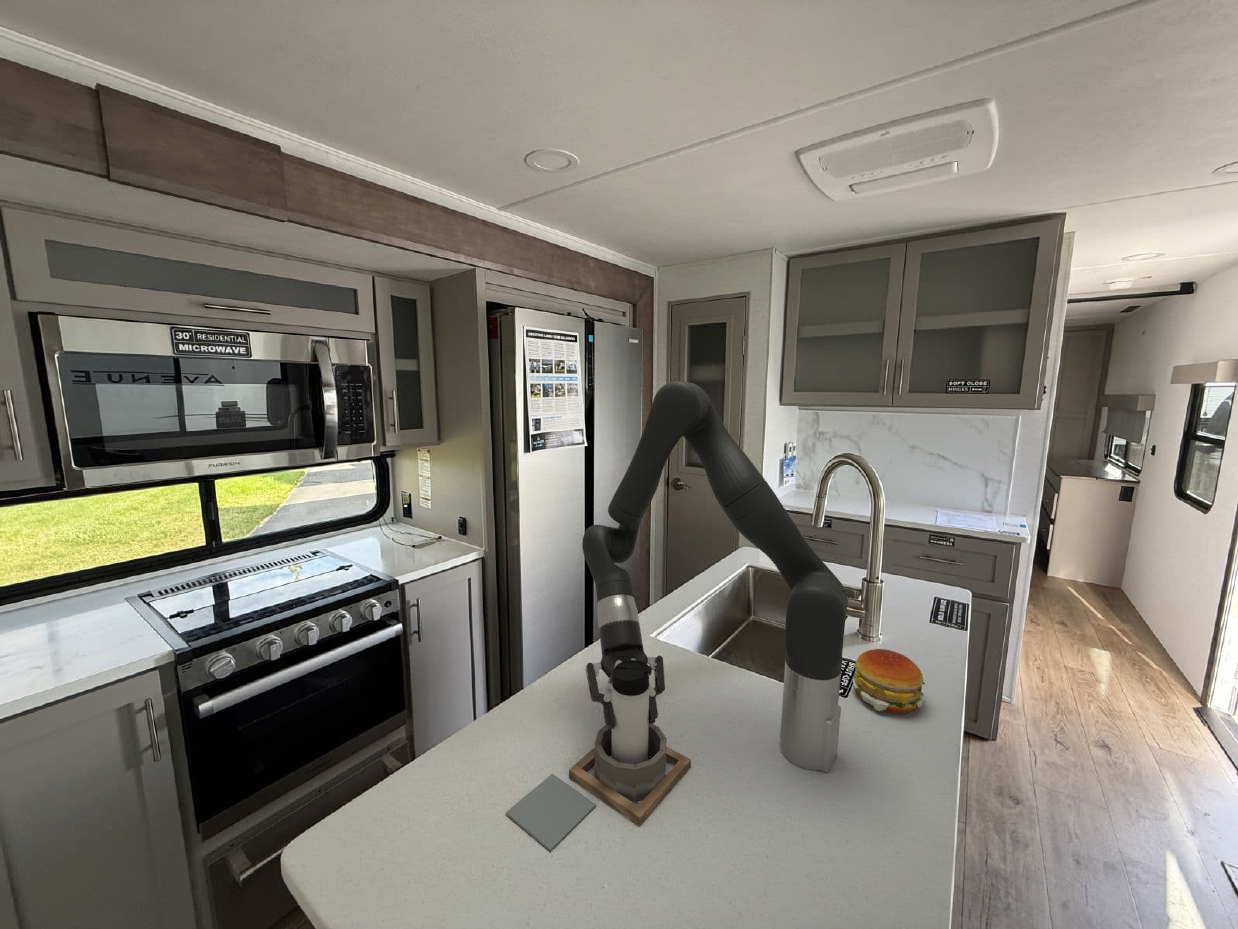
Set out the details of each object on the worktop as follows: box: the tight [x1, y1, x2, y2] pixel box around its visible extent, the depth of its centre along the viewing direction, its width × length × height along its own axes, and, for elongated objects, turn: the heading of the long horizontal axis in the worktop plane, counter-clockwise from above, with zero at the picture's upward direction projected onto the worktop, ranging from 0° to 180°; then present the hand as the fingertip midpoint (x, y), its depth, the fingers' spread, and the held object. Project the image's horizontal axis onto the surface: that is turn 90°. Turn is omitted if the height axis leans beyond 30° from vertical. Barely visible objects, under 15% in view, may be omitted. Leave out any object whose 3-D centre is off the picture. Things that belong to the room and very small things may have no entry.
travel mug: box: [611, 660, 653, 764], centre depth 85 cm, size 6×7×20 cm
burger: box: [852, 648, 926, 714], centre depth 106 cm, size 13×14×10 cm
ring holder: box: [568, 723, 692, 827], centre depth 87 cm, size 15×15×6 cm
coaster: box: [505, 773, 597, 853], centre depth 79 cm, size 10×10×1 cm
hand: (632, 725), depth 84 cm, fingers closed on travel mug, 6 cm apart
